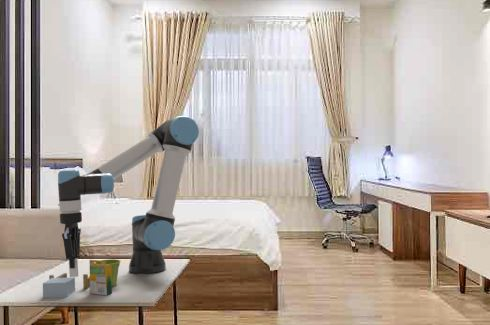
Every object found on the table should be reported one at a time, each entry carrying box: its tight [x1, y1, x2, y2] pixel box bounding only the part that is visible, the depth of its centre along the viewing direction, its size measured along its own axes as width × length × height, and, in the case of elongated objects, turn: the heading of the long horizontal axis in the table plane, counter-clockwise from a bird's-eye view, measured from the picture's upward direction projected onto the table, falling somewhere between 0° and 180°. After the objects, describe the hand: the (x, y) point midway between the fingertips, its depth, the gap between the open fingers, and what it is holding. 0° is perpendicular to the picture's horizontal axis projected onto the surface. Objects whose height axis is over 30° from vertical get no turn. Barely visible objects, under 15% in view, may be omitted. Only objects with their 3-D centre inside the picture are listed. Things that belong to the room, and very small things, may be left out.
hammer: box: [48, 272, 90, 290], centre depth 183 cm, size 14×14×5 cm
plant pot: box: [94, 258, 122, 287], centre depth 180 cm, size 9×9×9 cm
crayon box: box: [88, 259, 113, 296], centre depth 168 cm, size 7×3×12 cm, turn 65°
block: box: [42, 277, 76, 298], centre depth 169 cm, size 8×8×5 cm
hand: (74, 276), depth 180 cm, fingers closed
